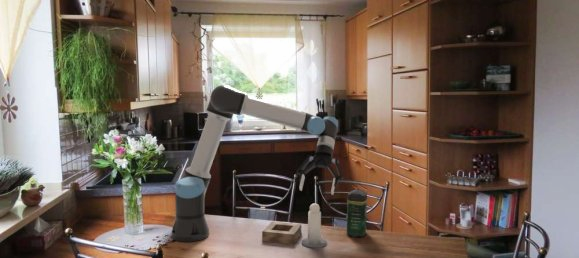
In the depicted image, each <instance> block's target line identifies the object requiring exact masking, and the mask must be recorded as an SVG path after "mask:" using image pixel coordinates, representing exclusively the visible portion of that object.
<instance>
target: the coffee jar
mask: <svg viewBox="0 0 579 258" xmlns="http://www.w3.org/2000/svg"><path fill="white" fill-rule="evenodd" d="M367 205H368V193H367V192H366V191H365V190H364V189H356V188H355V189H353V190H351V191H350V192H348V194H347V211H346V212H347V213H346V215H347V217H346V234H347V235H348V236H351V237H355V238H356V237H357V238H358V237H363V236H365V234H366V233H367V209H368V207H367Z"/></svg>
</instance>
